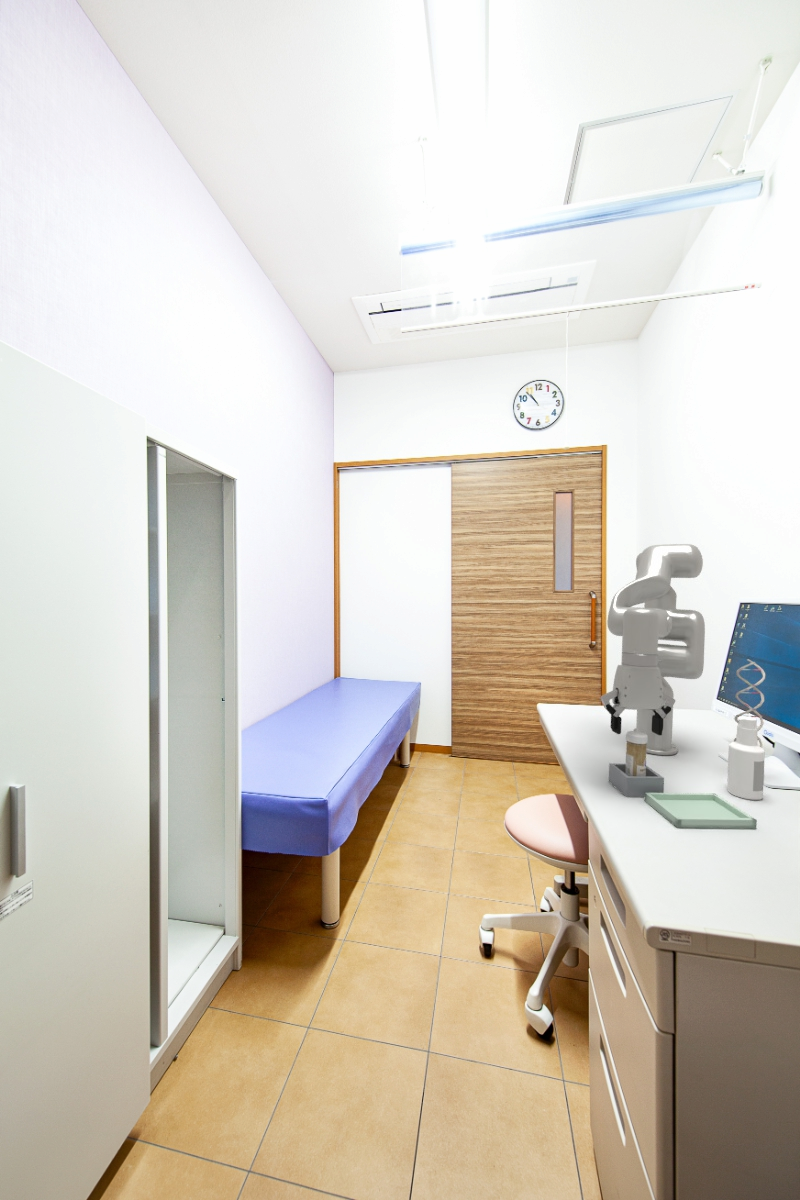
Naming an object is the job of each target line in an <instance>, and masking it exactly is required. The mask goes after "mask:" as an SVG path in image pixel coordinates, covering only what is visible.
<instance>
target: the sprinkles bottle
mask: <svg viewBox="0 0 800 1200" xmlns="http://www.w3.org/2000/svg"><path fill="white" fill-rule="evenodd" d="M625 741H626V748H625V749H626V750H625V764H626V771H625V774H626V775H628V776H646V766H647V753H646V745H647V741H648V736H647V734H645V733H642V732H638V731H633V730H628V731H627V732H626V734H625Z"/></svg>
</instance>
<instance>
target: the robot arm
mask: <svg viewBox="0 0 800 1200" xmlns="http://www.w3.org/2000/svg"><path fill="white" fill-rule="evenodd" d="M703 562H704V559H703V555H702V553H701V550H700V549H699V547H698V546H696V545H693V544H691V543H678V544H677V543H676V544H674V543H673V544H671V543H670V544H655V545H651V546H648V547H646V548H645V549H643V551H642V552H641V553H639V554H638V555H637V556H636V560H635V568H636V575H635V579H634V580H632V581H631V582H629V583H627V584H625V586H623V587H622V588H620V589H619V590H618V591H617V592H616V593H615V594H614V596H613V597H612V600H611V601H610V602H611V603H610V606H609V610H608V614H607V623H606V624H607V629H608V630H609V632H610V633H611V634H612V635H614V636H616V637H617V636H618V637H622V642H621V664H618V665H617V667H616V671H615V675H614V679H613V686H612V690H611V691H608V692H606V693H604V694H602V695H601V696H600V698H599V699H600V700H601V702H602V705H603V707H604V709H605V710H606V711H607V712H608V713H609V714H610V729H611V731H612V732H613V733H615V734H616V735H621V733H622V717H621V716H620V715H621V714H622V713H623V712H624V711H625V710H634V711H635V710H636V726H635V727H636V728H634V729H633V730H632V731H638V732H642V733H645V734H647V736H648V741H647V745H646V754H652V755H657V756H658V755H660V756H672V755H676V754H678V752H679V751H678V750H679V748H678V747H677V746H676V744H675V745H674V743H672V742H673V725H674V723H673V722H674V721H673V718H674V705H675V703H676V699H675V698H674V696H675V695H674V690H673V688H672V686H671V685H670V683H669V682H668V681H667V680H666V678H674V679H675V678H676V679H685V680H687V679H688V680H698V679H699V678H701V677H702V674H703V671H704V667H705V666H704V665H705V643H706V642H705V637H706V636H705V635H706V628H705V627H706V625H705V619H704V616H703V614H702V613H701V612H700V611H697V610H695V609H694V610H693V609H679V608H678V609H677V597H678V596H677V592H676V591H675V588H673V587H672V586H671V581H672V579H695V578H697V577H698V576H700V574H701V572H702V570H703V567H704V565H703V564H704V563H703ZM640 604H644V607H636V606H637V605H640ZM634 606H635V607H634ZM659 641H672V642H682V643H684V644H686V645H679V644H670V643H669V644H667V643H659ZM610 700H612V704H613V705H611V703H610Z"/></svg>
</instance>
